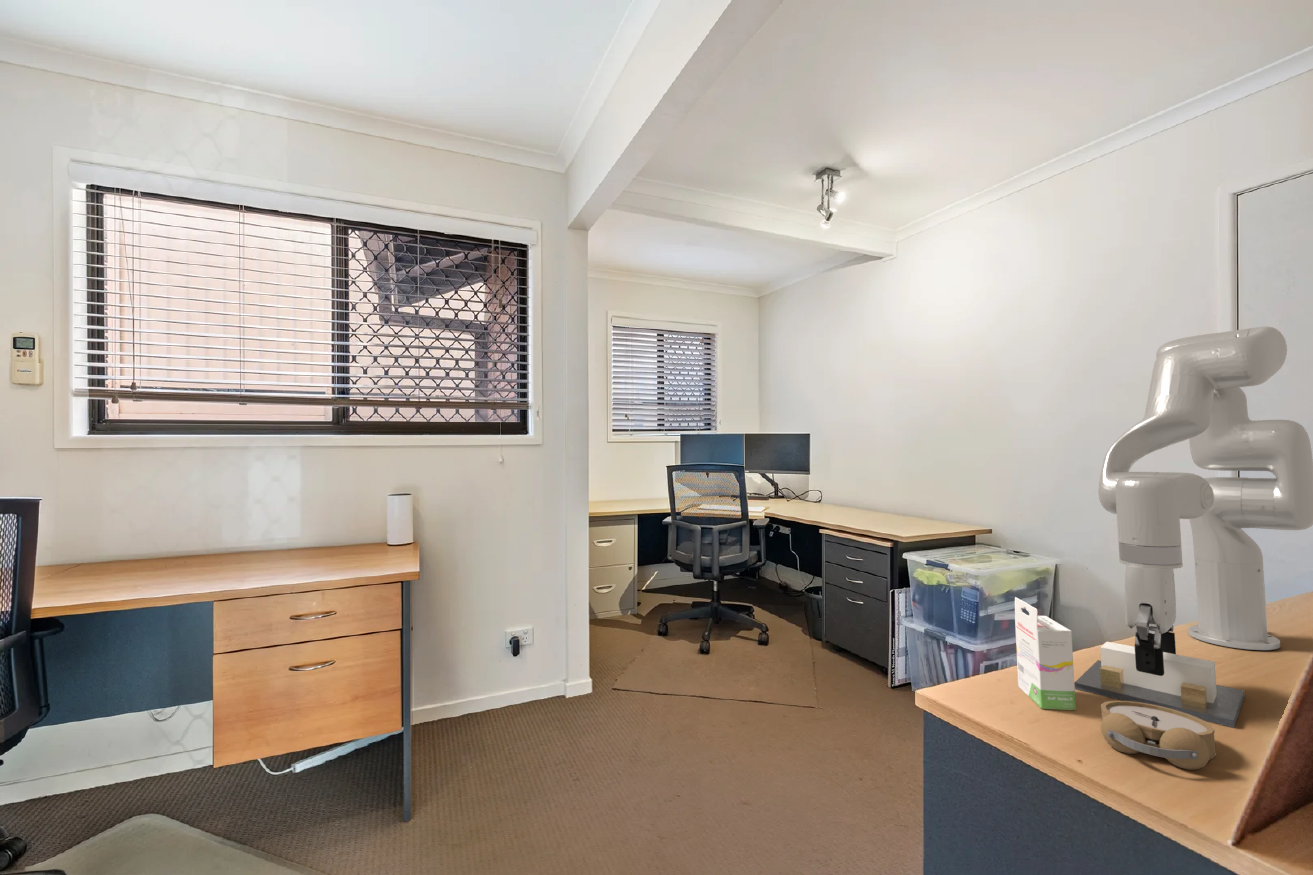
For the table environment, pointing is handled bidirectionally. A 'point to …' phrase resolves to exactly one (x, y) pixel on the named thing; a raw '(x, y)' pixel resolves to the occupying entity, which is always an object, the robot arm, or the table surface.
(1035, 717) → the table surface
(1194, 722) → the alarm clock
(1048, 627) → the ink box
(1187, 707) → the cradle jig
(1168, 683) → the white rectangular block
